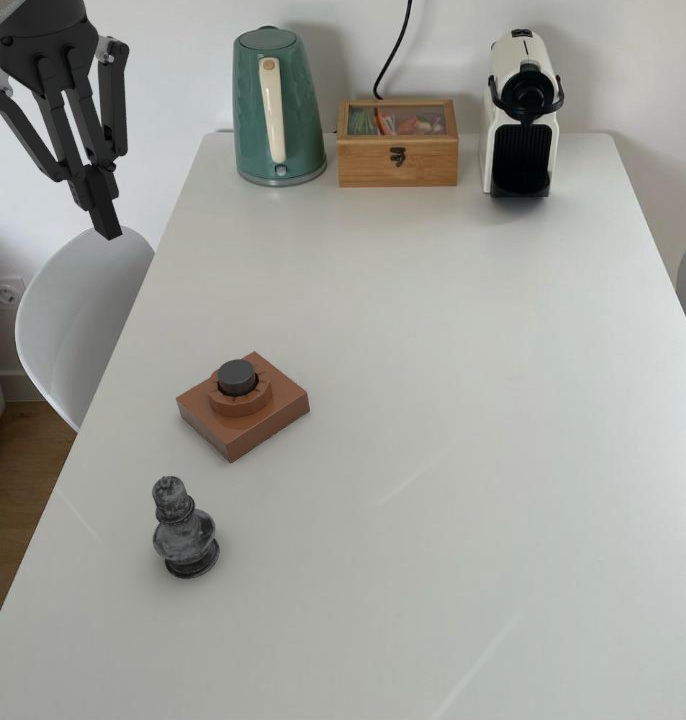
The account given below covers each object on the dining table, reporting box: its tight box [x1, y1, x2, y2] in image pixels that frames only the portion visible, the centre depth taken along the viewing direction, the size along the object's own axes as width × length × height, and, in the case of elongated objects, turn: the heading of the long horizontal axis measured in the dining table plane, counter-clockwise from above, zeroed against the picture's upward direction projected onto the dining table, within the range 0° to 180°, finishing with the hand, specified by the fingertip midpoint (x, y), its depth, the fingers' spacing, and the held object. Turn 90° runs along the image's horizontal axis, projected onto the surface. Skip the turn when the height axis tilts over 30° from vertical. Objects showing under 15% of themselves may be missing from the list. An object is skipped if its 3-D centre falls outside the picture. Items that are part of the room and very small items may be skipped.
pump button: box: [217, 358, 257, 397], centre depth 89 cm, size 4×4×2 cm
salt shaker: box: [151, 475, 220, 580], centre depth 75 cm, size 6×6×12 cm
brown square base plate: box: [175, 350, 311, 463], centre depth 91 cm, size 11×10×5 cm
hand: (108, 232), depth 77 cm, fingers closed
